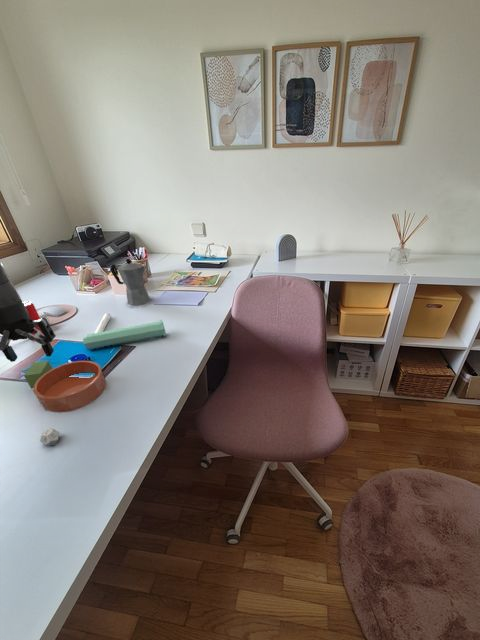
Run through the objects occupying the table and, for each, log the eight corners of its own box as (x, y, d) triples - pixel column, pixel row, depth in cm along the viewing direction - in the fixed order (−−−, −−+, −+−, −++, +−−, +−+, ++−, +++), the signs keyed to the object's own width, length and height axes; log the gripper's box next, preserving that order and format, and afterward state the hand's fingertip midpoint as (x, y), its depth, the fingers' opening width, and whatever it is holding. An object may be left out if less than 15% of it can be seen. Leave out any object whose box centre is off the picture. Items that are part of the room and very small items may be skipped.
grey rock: (65, 434, 68) (59, 425, 66) (56, 448, 65) (50, 438, 63) (49, 435, 68) (43, 425, 66) (39, 448, 64) (33, 439, 63)
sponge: (31, 388, 81) (23, 375, 79) (39, 375, 86) (32, 362, 83) (47, 386, 82) (40, 373, 79) (55, 373, 87) (48, 360, 84)
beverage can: (27, 336, 104) (10, 305, 98) (43, 330, 108) (28, 299, 101) (34, 341, 102) (17, 308, 95) (50, 334, 105) (35, 303, 99)
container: (78, 335, 92) (161, 320, 99) (83, 333, 98) (162, 319, 104) (83, 353, 94) (165, 337, 100) (88, 350, 99) (166, 335, 105)
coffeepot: (158, 297, 131) (148, 255, 121) (148, 306, 123) (137, 263, 113) (125, 295, 133) (113, 254, 123) (113, 305, 125) (100, 262, 115)
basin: (31, 416, 72) (22, 403, 70) (53, 377, 85) (46, 365, 82) (99, 406, 75) (93, 392, 72) (111, 369, 87) (106, 357, 85)
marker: (106, 316, 116) (104, 310, 115) (112, 315, 117) (110, 310, 115) (94, 340, 102) (91, 334, 100) (100, 339, 102) (98, 333, 101)
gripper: (40, 291, 75) (65, 346, 84) (-25, 298, 72) (8, 353, 82) (28, 304, 69) (56, 361, 78) (-44, 312, 66) (-5, 370, 75)
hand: (32, 357), depth 80 cm, fingers open, 8 cm apart
